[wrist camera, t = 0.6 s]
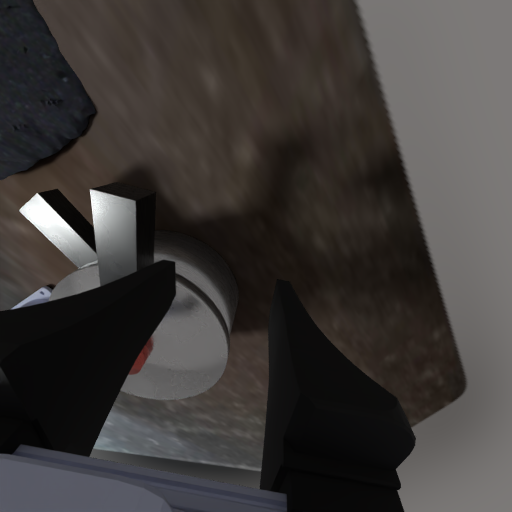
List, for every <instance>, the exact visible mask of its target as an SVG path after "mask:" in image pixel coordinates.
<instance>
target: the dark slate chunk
mask: <svg viewBox="0 0 512 512" xmlns="http://www.w3.org/2000/svg"><path fill="white" fill-rule="evenodd" d="M95 113H96V112H95V108H94V106H93V104H92V102H91V100H90V98H89V97H88V96H87V94H86V92H85V90H84V87H83V85H82V83H81V81H80V80H79V78H78V77H77V75H76V74H75V72H74V71H73V70H72V68H71V67H70V66H69V64H68V63H67V61H66V60H65V59H64V57H63V56H62V54H61V52H60V51H59V48H58V44H57V42H56V40H55V38H54V37H53V36H52V34H51V33H50V31H49V28H48V26H47V24H46V22H45V21H44V19H43V18H42V16H41V15H40V14H39V12H38V11H37V9H36V7H35V5H34V3H33V1H32V0H0V180H3V179H5V178H6V177H8V176H10V175H13V174H15V173H17V172H19V171H24V170H28V168H29V167H32V166H33V165H34V164H35V163H36V162H38V160H40V159H42V158H46V157H48V156H50V155H52V154H55V153H57V152H58V151H59V150H60V149H61V148H62V147H63V146H65V145H67V144H68V143H69V142H70V140H71V139H75V138H77V137H79V136H80V135H81V134H82V131H83V130H84V129H85V128H86V127H87V125H88V120H89V115H91V114H95Z"/></svg>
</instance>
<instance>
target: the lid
mask: <svg viewBox="0 0 512 512" xmlns="http://www.w3.org/2000/svg"><path fill="white" fill-rule="evenodd" d="M90 195H91V204H92V213H93V222H94V232H95V241H96V250H97V261H94V262H91V263H88V264H86V265H84V266H83V267H81V268H79V269H77V270H76V271H74V272H73V273H71V274H70V275H68V276H67V277H65V278H64V279H63V280H62V281H60V282H59V283H58V284H57V286H56V287H55V288H54V289H53V291H52V293H51V295H50V298H49V301H52V300H56V299H60V298H64V297H68V296H72V295H75V294H78V293H82V292H85V291H88V290H91V289H94V288H97V287H100V286H102V285H105V284H108V283H110V282H113V281H115V280H117V279H120V278H122V277H125V276H127V275H129V274H132V273H134V272H136V271H138V270H141V269H143V268H145V267H147V266H149V265H152V264H154V241H155V203H156V192H153V191H149V190H145V189H141V188H137V187H133V186H130V185H126V184H122V183H118V182H116V183H112V184H108V185H104V186H100V187H97V188H93V189H90ZM229 350H230V336H229V331H228V327H227V324H226V322H225V319H224V318H223V316H222V314H221V312H220V310H219V309H218V308H217V306H216V305H215V304H214V302H213V301H212V300H211V299H210V298H209V297H208V296H207V295H206V294H205V293H204V292H203V291H202V290H201V289H200V288H199V287H197V286H196V285H195V284H194V283H192V282H191V281H189V280H188V279H186V278H185V277H183V276H181V275H179V274H178V273H176V296H175V298H174V300H173V302H172V304H171V306H170V308H169V310H168V312H167V313H166V315H165V317H164V318H163V320H162V321H161V323H160V324H159V326H158V327H157V328H156V330H155V331H154V333H153V334H152V336H151V337H150V339H149V340H148V342H147V343H146V345H145V346H144V348H143V349H142V351H141V353H140V354H139V356H138V357H137V359H136V361H135V363H134V365H133V367H132V369H131V370H130V372H129V374H128V376H127V378H126V380H125V382H124V384H123V386H122V388H121V390H120V391H123V392H126V393H128V394H132V395H136V396H139V397H145V398H150V399H159V400H174V399H183V398H188V397H192V396H195V395H198V394H200V393H202V392H204V391H206V390H208V389H209V388H211V387H212V386H213V385H214V384H215V383H216V382H217V381H218V380H219V379H220V377H221V376H222V374H223V372H224V370H225V367H226V364H227V359H228V355H229Z"/></svg>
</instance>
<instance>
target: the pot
mask: <svg viewBox="0 0 512 512" xmlns="http://www.w3.org/2000/svg"><path fill="white" fill-rule="evenodd" d="M19 211H20V212H21V213H22V214H23V215H24V216H25V217H26V218H27V219H28V220H29V221H30V222H31V223H32V224H34V225H35V226H36V227H37V228H38V229H39V230H40V231H41V232H42V233H43V234H44V235H45V236H46V237H47V238H48V239H49V240H50V241H51V242H52V243H53V244H54V245H55V246H56V247H57V248H58V249H59V250H60V251H62V252H63V253H64V254H65V255H66V256H67V257H68V258H69V259H70V260H71V261H72V262H73V263H74V264H75V265H76V266H77V267H78V268H81V267H83V266H84V265H86V264H88V263H91V262H94V261H97V250H96V241H95V232H94V227H93V226H92V225H91V224H90V223H89V222H88V221H87V220H86V219H85V218H84V217H83V216H82V215H81V213H80V212H79V211H78V210H77V209H76V208H75V207H74V206H73V205H72V204H71V203H70V202H69V201H68V200H67V198H66V197H65V196H64V195H63V194H62V193H61V192H60V191H59V190H58V189H54V190H50V191H45V192H41V193H37V194H36V195H35V196H34V197H33V198H32V199H31V200H30V201H29V202H28V203H26V204H25V205H24V206H23V207H22V208H21V209H20V210H19ZM161 260H169V261H174V262H175V267H176V273H178V274H179V275H181V276H183V277H185V278H186V279H188V280H189V281H191V282H192V283H194V284H195V285H196V286H197V287H199V288H200V289H201V290H202V291H203V292H204V293H205V294H206V295H207V296H208V297H209V298H210V299H211V300H212V301H213V302H214V304H215V305H216V306H217V308H218V309H219V310H220V312H221V314H222V316H223V318H224V319H225V322H226V324H227V327H228V331H229V336H230V333H231V329H232V325H233V321H234V317H235V313H236V309H237V305H238V299H239V292H238V286H237V282H236V279H235V277H234V274H233V272H232V270H231V269H230V267H229V266H228V264H227V263H226V262H225V260H224V259H223V258H222V257H221V256H220V255H219V254H218V253H217V252H216V251H215V250H213V249H212V248H211V247H209V246H208V245H207V244H205V243H203V242H202V241H200V240H198V239H196V238H194V237H191V236H189V235H186V234H182V233H178V232H173V231H155V241H154V263H156V262H158V261H161Z"/></svg>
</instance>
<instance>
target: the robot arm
mask: <svg viewBox="0 0 512 512" xmlns="http://www.w3.org/2000/svg"><path fill="white" fill-rule="evenodd" d="M52 291H53V290H52V289H51V288H49V287H48V286H44V287H42V288H41V289H39V290H38V291H36V292H35V293H33V294H32V295H31V296H29V297H28V298H26V299H25V300H23V301H22V302H21V303H19V304H18V305H16V306H15V307H13V308H12V309H11V310H5V311H0V512H404V509H403V506H402V504H401V501H400V498H399V495H398V492H397V490H399V489H400V488H401V483H400V480H399V478H398V475H397V472H396V468H397V467H398V466H399V465H400V464H401V463H402V462H403V461H404V460H405V459H406V458H407V457H408V456H409V455H410V453H411V452H412V450H413V448H414V446H415V440H416V438H415V436H414V433H413V431H412V429H411V427H410V424H409V422H408V420H407V417H406V415H405V413H404V411H403V409H402V407H401V405H400V403H399V401H398V399H397V398H396V397H395V396H393V395H392V394H391V393H389V392H388V391H387V390H385V389H384V388H383V387H381V386H380V385H379V384H377V383H376V382H375V381H373V380H372V379H371V378H369V377H368V376H367V375H366V374H365V373H363V372H362V371H361V370H360V369H359V368H358V367H356V366H355V365H354V364H353V363H352V362H351V361H350V360H348V359H347V358H346V357H345V356H344V355H343V354H342V353H341V352H340V351H339V350H338V349H337V348H336V347H335V346H334V345H333V344H332V343H331V342H330V341H329V340H328V339H327V337H326V336H325V335H324V334H323V333H322V332H321V330H320V329H319V328H318V327H317V325H316V324H315V323H314V321H313V320H312V319H311V317H310V316H309V314H308V313H307V311H306V310H305V308H304V307H303V305H302V303H301V302H300V300H299V298H298V296H297V295H296V293H295V291H294V289H293V287H292V285H291V283H290V282H289V281H284V280H278V279H277V282H276V286H275V291H274V295H273V300H272V304H271V309H270V316H269V327H268V341H269V387H268V401H267V413H266V426H265V437H264V449H263V460H262V470H261V481H260V489H256V488H251V487H245V486H240V485H234V484H230V483H224V482H219V481H214V480H208V479H203V478H197V477H192V476H187V475H182V474H176V473H171V472H165V471H161V470H155V469H149V468H145V467H139V466H134V465H129V464H123V463H118V462H113V461H107V460H102V459H97V458H91V457H89V456H90V454H91V451H92V449H93V447H94V445H95V443H96V440H97V438H98V436H99V434H100V431H101V429H102V427H103V425H104V423H105V421H106V418H107V416H108V414H109V412H110V410H111V408H112V406H113V404H114V402H115V400H116V398H117V396H118V394H119V392H120V390H121V388H122V386H123V384H124V382H125V380H126V378H127V376H128V374H129V372H130V370H131V369H132V367H133V365H134V363H135V361H136V359H137V357H138V356H139V354H140V353H141V351H142V349H143V348H144V346H145V345H146V343H147V342H148V340H149V339H150V337H151V336H152V334H153V333H154V331H155V330H156V328H157V327H158V326H159V324H160V323H161V321H162V320H163V318H164V317H165V315H166V313H167V312H168V310H169V308H170V306H171V304H172V302H173V300H174V298H175V296H176V267H175V262H174V261H169V260H161V261H158V262H156V263H154V264H152V265H149V266H147V267H145V268H143V269H141V270H138V271H136V272H134V273H132V274H129V275H127V276H125V277H122V278H120V279H117V280H115V281H113V282H110V283H108V284H105V285H102V286H100V287H97V288H94V289H91V290H88V291H85V292H82V293H78V294H75V295H72V296H68V297H64V298H60V299H56V300H52V301H49V298H50V295H51V293H52Z"/></svg>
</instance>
